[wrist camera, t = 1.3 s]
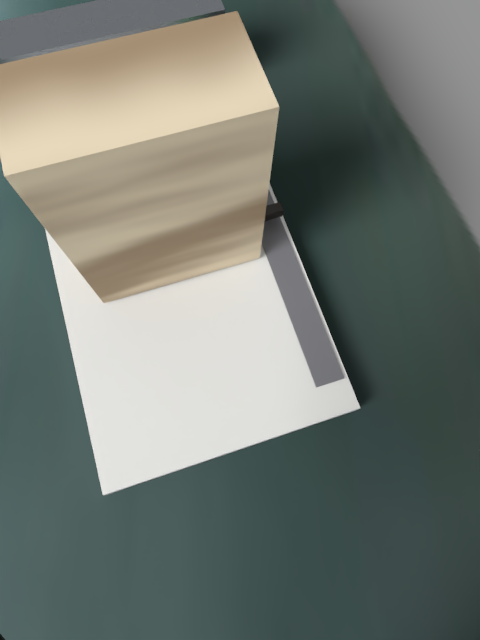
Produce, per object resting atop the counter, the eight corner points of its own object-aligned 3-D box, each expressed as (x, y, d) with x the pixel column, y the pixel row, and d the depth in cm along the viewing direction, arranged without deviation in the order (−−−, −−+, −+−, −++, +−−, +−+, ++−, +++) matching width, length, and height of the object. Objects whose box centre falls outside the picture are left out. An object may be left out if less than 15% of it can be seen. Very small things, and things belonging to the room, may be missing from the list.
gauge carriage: (293, 248, 23) (336, 92, 13) (103, 303, 22) (4, 176, 12) (267, 184, 24) (289, -1, 15) (86, 233, 23) (-17, 67, 13)
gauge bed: (354, 410, 22) (362, 407, 20) (108, 493, 20) (101, 495, 19) (214, 58, 28) (213, 39, 27) (22, 103, 27) (12, 86, 26)
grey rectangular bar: (226, 75, 27) (225, 9, 23) (22, 123, 25) (-15, 63, 21) (213, 44, 27) (210, -24, 24) (15, 90, 26) (-22, 25, 22)
